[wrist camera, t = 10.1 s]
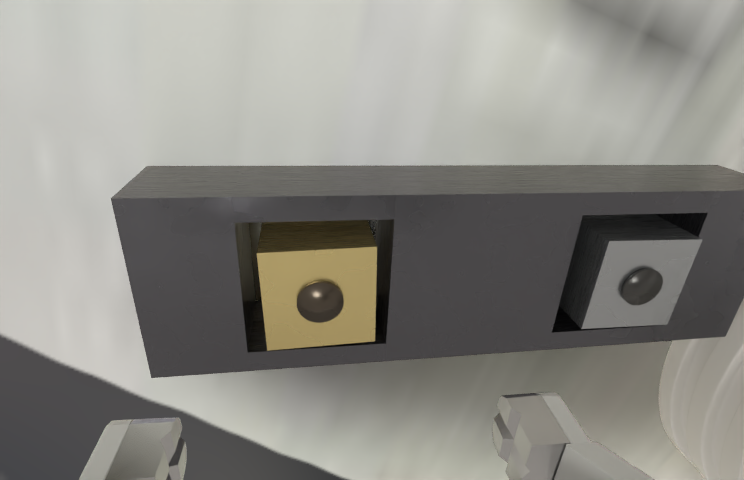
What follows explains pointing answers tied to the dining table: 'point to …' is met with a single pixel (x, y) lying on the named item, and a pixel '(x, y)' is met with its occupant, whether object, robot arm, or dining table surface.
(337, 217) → the rail
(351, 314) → the wooden cube with knob
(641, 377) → the dining table surface
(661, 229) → the grey knobbed square block
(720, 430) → the plate stack
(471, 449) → the dining table surface
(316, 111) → the dining table surface
